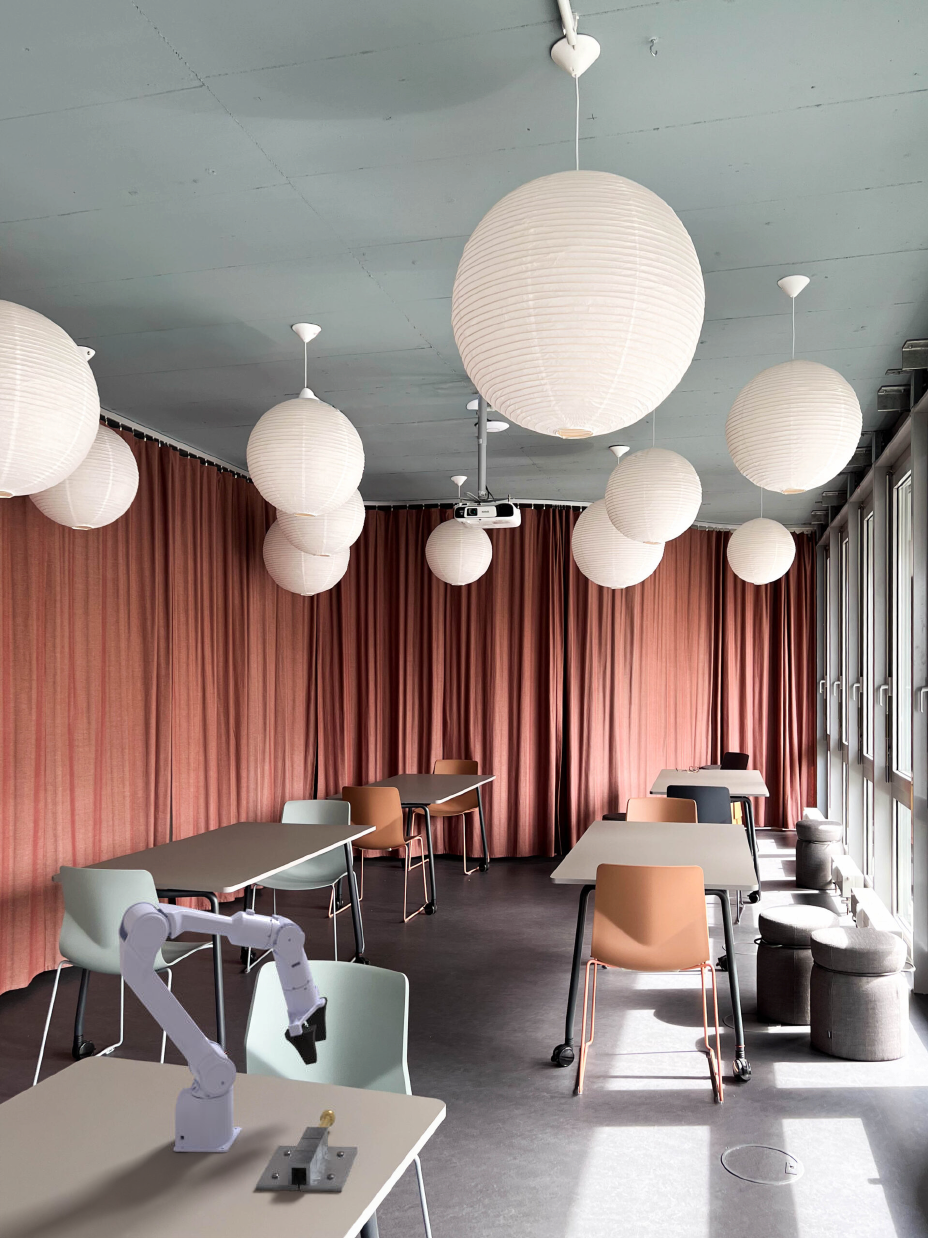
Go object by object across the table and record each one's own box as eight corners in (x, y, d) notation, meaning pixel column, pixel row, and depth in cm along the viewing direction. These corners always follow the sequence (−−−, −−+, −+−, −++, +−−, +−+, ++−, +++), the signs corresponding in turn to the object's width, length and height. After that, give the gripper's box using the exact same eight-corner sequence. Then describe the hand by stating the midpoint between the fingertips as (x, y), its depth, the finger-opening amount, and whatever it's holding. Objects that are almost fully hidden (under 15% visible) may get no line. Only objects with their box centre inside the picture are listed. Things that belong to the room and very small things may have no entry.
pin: (300, 1165, 150) (300, 1149, 150) (321, 1125, 164) (320, 1109, 164) (316, 1166, 150) (316, 1149, 150) (335, 1125, 163) (335, 1110, 164)
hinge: (256, 1189, 145) (256, 1163, 145) (278, 1150, 156) (278, 1126, 157) (341, 1191, 143) (341, 1165, 144) (357, 1152, 155) (356, 1127, 156)
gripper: (308, 997, 162) (328, 1069, 163) (326, 960, 177) (344, 1026, 177) (270, 1005, 163) (290, 1077, 164) (291, 968, 177) (310, 1034, 178)
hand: (316, 1051), depth 171 cm, fingers open, 7 cm apart
